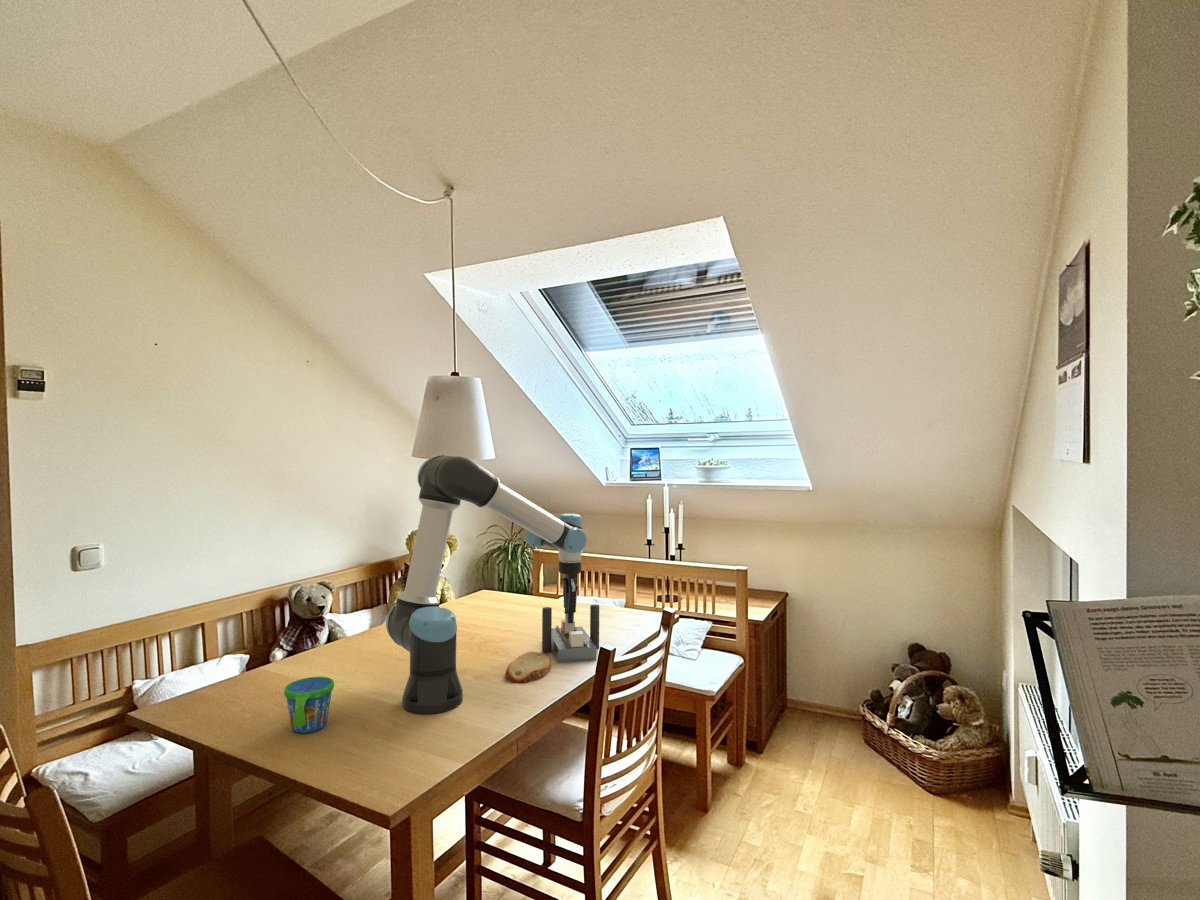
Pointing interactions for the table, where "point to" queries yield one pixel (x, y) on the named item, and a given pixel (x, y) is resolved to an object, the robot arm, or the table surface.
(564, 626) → the toggle
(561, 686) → the table surface
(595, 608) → the post right
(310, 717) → the snack cup
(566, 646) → the grey tray
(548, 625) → the post left
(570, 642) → the toggle
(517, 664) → the bread slice
